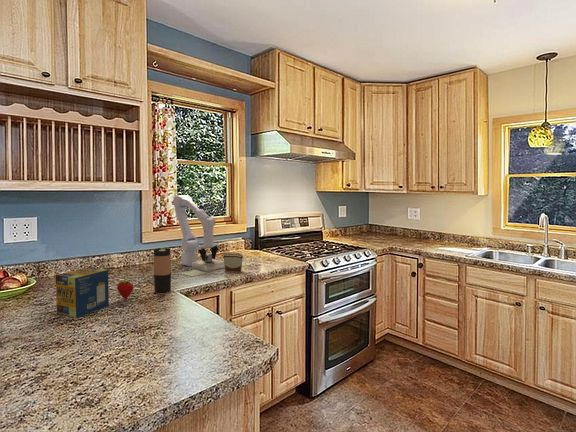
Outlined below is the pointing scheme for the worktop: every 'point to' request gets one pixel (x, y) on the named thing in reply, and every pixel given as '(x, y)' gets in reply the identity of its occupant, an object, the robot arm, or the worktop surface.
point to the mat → (193, 273)
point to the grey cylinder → (208, 258)
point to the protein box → (82, 291)
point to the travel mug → (162, 270)
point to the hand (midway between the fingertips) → (208, 259)
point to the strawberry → (125, 288)
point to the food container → (233, 262)
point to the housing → (208, 265)
